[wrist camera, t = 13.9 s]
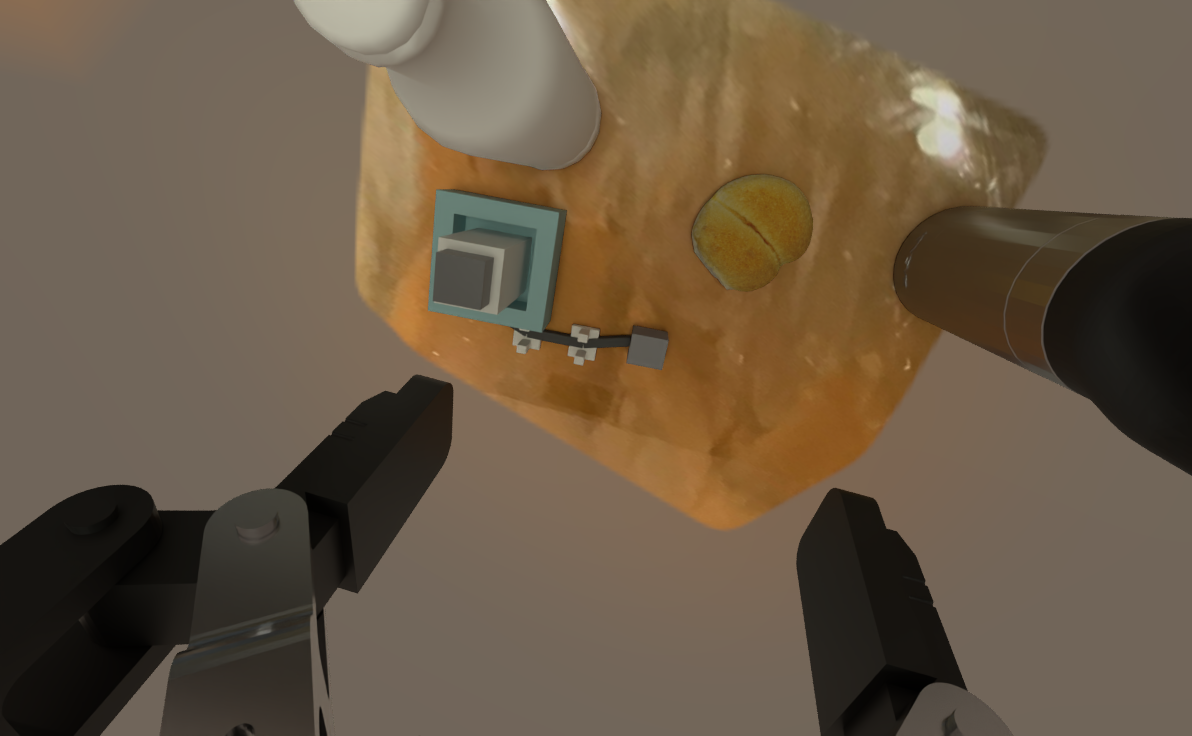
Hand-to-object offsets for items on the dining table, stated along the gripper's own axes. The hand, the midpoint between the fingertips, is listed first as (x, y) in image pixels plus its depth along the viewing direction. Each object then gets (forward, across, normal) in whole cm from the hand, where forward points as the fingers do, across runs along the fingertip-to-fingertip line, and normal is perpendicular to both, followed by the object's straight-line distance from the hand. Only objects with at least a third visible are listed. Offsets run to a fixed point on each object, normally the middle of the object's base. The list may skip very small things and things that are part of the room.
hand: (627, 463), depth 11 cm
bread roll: (+36, -6, +5) cm, 37 cm away
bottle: (+36, +12, -1) cm, 38 cm away
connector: (+32, +14, +10) cm, 36 cm away
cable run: (+32, +6, +16) cm, 36 cm away
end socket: (+33, +14, +10) cm, 37 cm away
